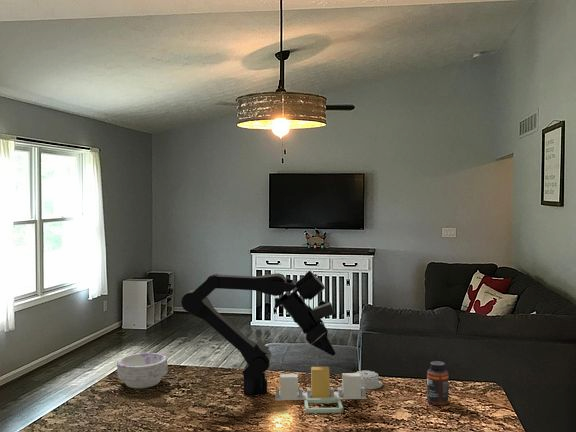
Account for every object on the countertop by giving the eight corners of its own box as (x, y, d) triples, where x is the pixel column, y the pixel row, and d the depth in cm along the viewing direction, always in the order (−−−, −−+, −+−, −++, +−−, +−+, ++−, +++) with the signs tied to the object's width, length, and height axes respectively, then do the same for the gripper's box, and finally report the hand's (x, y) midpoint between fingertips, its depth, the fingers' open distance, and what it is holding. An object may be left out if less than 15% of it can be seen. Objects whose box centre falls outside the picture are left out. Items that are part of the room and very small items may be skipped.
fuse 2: (343, 397, 168) (343, 376, 168) (342, 393, 171) (342, 373, 171) (360, 396, 169) (360, 376, 168) (359, 393, 172) (359, 373, 171)
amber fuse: (312, 397, 168) (312, 370, 168) (311, 394, 171) (311, 366, 171) (329, 397, 168) (329, 369, 168) (328, 393, 171) (328, 366, 171)
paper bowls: (107, 389, 179) (106, 363, 178) (134, 374, 193) (134, 350, 193) (151, 394, 174) (151, 367, 174) (176, 378, 189) (176, 354, 188)
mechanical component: (383, 393, 175) (381, 383, 185) (383, 379, 175) (381, 369, 185) (349, 392, 176) (349, 382, 186) (349, 378, 176) (349, 368, 186)
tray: (306, 416, 157) (306, 409, 156) (304, 405, 165) (304, 398, 164) (343, 416, 157) (343, 408, 157) (339, 405, 165) (339, 398, 165)
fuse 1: (280, 398, 168) (280, 377, 167) (280, 394, 171) (280, 374, 170) (298, 397, 168) (298, 377, 168) (297, 394, 171) (297, 373, 171)
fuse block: (275, 403, 166) (275, 393, 166) (275, 396, 172) (274, 386, 172) (366, 402, 167) (366, 391, 167) (363, 394, 173) (363, 384, 173)
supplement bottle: (450, 400, 168) (450, 361, 168) (446, 407, 163) (446, 367, 163) (429, 397, 171) (429, 358, 170) (424, 404, 166) (425, 364, 165)
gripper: (322, 295, 162) (358, 339, 162) (317, 289, 181) (350, 328, 180) (290, 321, 161) (327, 365, 161) (289, 312, 180) (322, 352, 180)
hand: (332, 351), depth 171 cm, fingers open, 9 cm apart
